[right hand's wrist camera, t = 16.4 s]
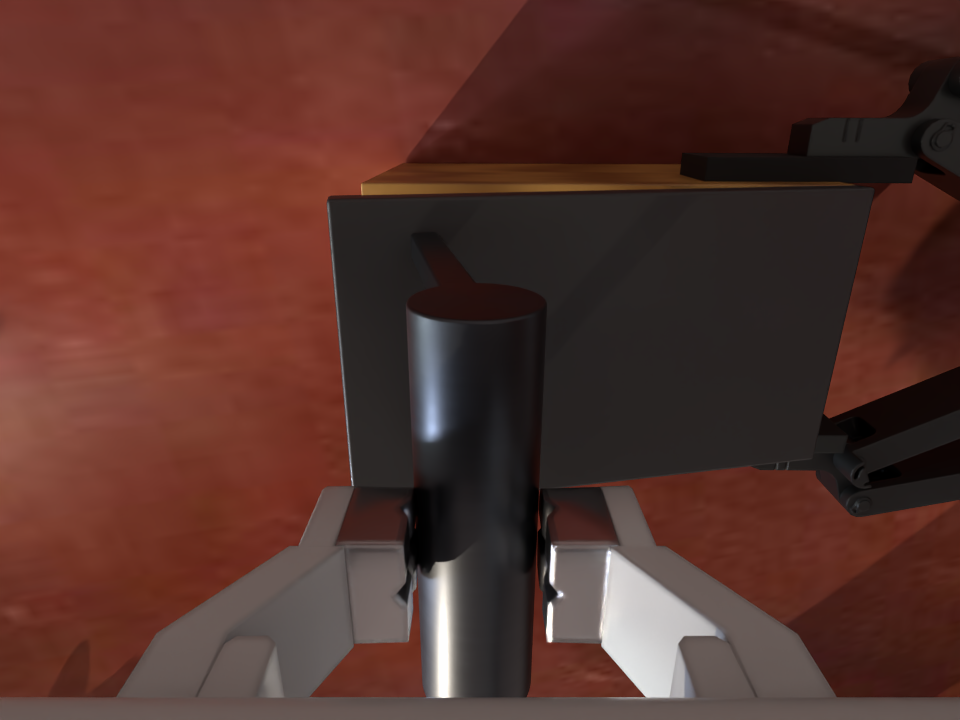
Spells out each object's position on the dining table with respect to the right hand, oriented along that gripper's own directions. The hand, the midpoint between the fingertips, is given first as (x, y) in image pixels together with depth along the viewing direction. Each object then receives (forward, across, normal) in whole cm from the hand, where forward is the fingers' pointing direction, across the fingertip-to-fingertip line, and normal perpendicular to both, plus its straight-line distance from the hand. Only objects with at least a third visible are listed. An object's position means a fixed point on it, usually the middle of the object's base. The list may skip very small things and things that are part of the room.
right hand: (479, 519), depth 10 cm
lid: (+9, +4, 0) cm, 10 cm away
